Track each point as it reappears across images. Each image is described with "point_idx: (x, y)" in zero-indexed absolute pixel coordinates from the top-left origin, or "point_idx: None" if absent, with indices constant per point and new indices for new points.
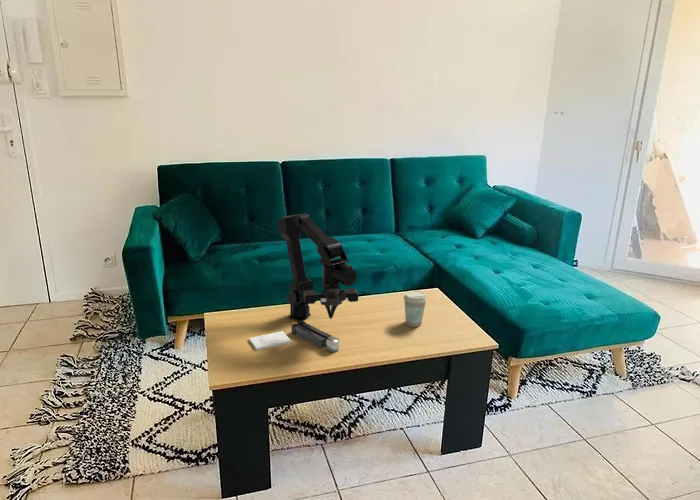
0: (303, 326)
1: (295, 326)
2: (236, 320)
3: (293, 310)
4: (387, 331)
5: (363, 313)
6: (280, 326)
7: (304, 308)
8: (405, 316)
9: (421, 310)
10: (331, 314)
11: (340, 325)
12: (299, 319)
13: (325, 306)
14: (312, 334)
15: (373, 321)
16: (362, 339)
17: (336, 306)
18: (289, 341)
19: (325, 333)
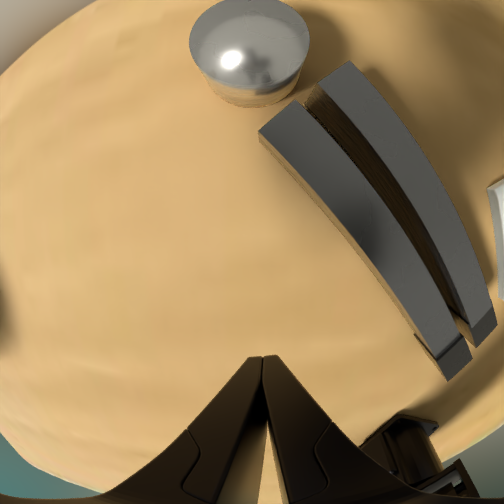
0: (451, 320)
1: (491, 305)
2: None
3: (434, 450)
4: (6, 300)
5: (121, 449)
6: (485, 355)
7: (399, 469)
8: None
9: None
10: (252, 389)
11: (201, 391)
12: (408, 419)
13: (417, 494)
14: (424, 172)
15: (67, 392)
16: (69, 221)
17: (123, 493)
18: (498, 186)
19: (318, 176)
